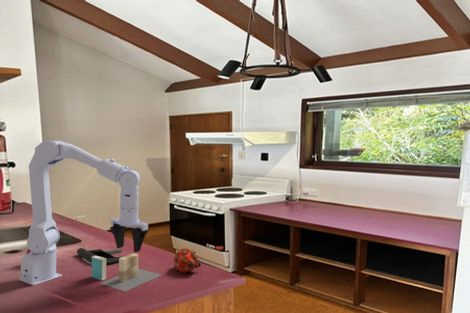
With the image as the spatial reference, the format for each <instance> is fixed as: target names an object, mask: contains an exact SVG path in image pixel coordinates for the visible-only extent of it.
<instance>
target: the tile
mask: <svg viewBox="0 0 470 313" xmlns="http://www.w3.org/2000/svg"><path fill="white" fill-rule="evenodd" d="M91 278H93V279H96V280H100V281H103V280H106V279H107V266H106V258H104V257H99V256H93V257H92V265H91Z"/></svg>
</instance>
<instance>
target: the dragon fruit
mask: <svg viewBox="0 0 470 313" xmlns="http://www.w3.org/2000/svg"><path fill="white" fill-rule="evenodd" d="M198 259H199V257H198V256H197V255H196V252H195V250H191V249H190V248H188V247H185V248H181V249H180V250H178V251H177V252H176V254H175V255H174V258H173V262H174V269H175V271H179V272H180V273H181V274H182V273H184V274H185V275H188V274H187V273H188V272H189V273H190V272H191V273H194V272H195V271H196V269H198V268H200V267H201V265H202V263H201V262H199V260H198Z"/></svg>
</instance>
